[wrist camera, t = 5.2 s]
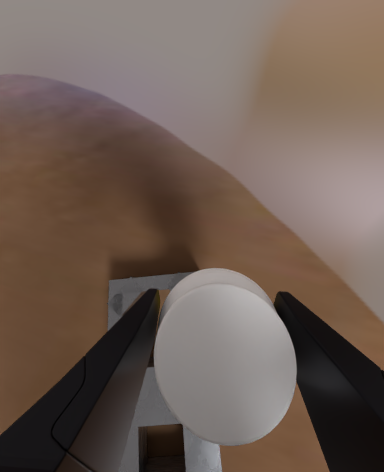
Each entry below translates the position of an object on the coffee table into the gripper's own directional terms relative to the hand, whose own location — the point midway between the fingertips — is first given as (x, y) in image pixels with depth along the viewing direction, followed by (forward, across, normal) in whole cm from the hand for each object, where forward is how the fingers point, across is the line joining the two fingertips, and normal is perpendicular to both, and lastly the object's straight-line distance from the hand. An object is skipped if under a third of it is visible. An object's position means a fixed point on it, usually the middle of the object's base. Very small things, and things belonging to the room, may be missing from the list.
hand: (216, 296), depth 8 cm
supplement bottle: (+4, 0, +6) cm, 7 cm away
